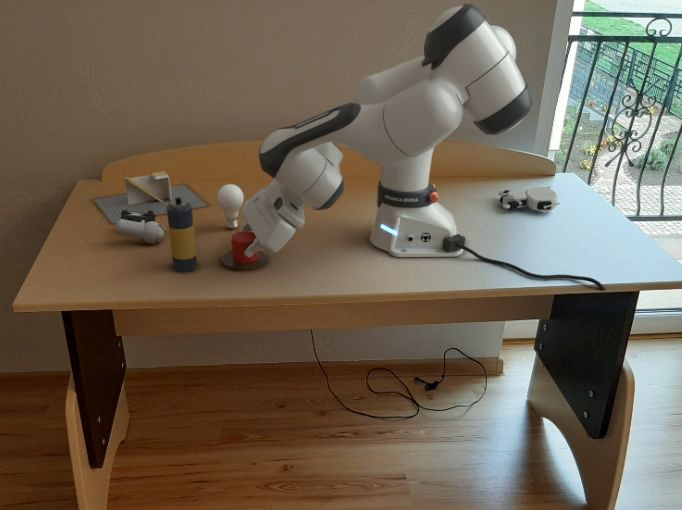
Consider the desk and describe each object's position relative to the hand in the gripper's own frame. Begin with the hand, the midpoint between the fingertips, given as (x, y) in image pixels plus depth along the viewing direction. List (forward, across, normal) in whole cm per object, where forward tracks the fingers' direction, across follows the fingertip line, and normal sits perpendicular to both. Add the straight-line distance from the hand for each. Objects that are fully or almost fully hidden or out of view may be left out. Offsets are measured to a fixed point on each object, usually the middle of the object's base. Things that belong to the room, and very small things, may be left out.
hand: (242, 248), depth 152 cm
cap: (+1, 0, +2) cm, 2 cm away
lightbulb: (+1, -18, +4) cm, 19 cm away
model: (+13, -40, -8) cm, 43 cm away
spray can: (+11, -1, -7) cm, 13 cm away
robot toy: (-52, -9, +61) cm, 81 cm away
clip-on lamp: (+14, -19, -9) cm, 25 cm away
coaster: (+2, 0, +2) cm, 3 cm away
